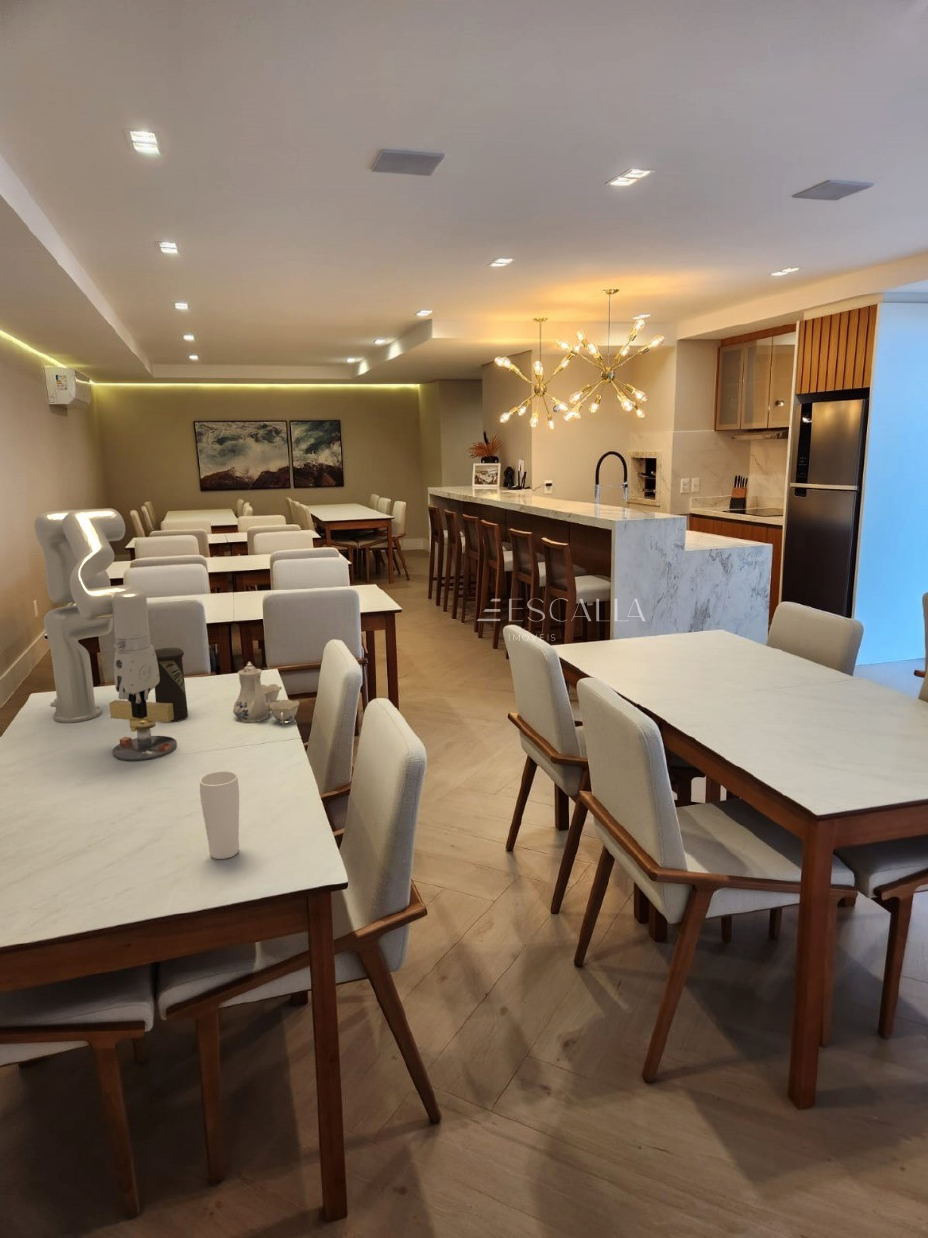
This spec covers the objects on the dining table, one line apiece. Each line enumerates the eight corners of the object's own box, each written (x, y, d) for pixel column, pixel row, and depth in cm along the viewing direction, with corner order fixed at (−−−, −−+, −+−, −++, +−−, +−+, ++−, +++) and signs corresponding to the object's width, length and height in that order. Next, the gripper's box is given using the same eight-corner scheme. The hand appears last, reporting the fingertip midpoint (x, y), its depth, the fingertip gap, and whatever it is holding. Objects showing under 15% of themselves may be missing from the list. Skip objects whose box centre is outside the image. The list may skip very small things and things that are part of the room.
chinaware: (310, 729, 219) (312, 670, 217) (251, 735, 210) (253, 674, 207) (271, 703, 242) (273, 650, 239) (216, 708, 232) (218, 652, 230)
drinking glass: (210, 845, 151) (203, 771, 148) (246, 843, 152) (241, 770, 149) (201, 863, 145) (195, 786, 141) (239, 861, 145) (233, 784, 142)
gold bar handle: (162, 734, 193) (159, 710, 192) (103, 730, 196) (101, 706, 195) (181, 722, 201) (179, 699, 200) (125, 718, 205) (122, 696, 203)
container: (178, 724, 219) (172, 653, 215) (149, 722, 221) (142, 652, 217) (195, 714, 228) (189, 646, 223) (166, 712, 229) (160, 644, 225)
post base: (99, 756, 196) (96, 733, 195) (144, 736, 210) (142, 714, 209) (146, 764, 191) (144, 741, 189) (189, 743, 204) (187, 721, 203)
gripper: (121, 652, 179) (128, 729, 183) (168, 637, 192) (174, 709, 196) (95, 649, 181) (103, 725, 185) (144, 634, 195) (150, 705, 199)
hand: (139, 717), depth 191 cm, fingers closed
